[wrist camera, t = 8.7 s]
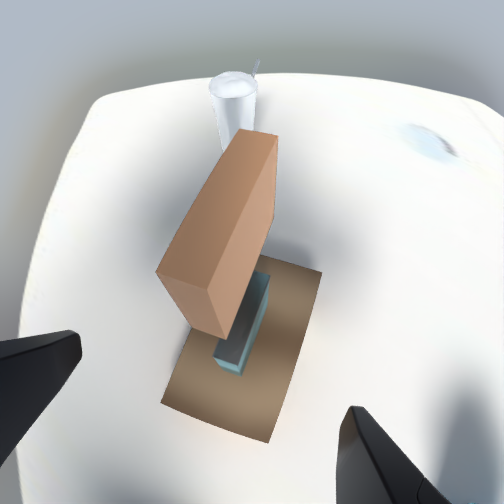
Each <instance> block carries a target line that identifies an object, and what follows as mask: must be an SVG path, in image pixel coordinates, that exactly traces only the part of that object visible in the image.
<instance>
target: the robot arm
mask: <svg viewBox="0 0 504 504" xmlns="http://www.w3.org/2000/svg"><path fill="white" fill-rule="evenodd" d="M81 358H82V347H81V339H80V336H79V334H78V333H76V332H74V331H72V330H65V331H59V332H54V333H48V334H42V335H37V336H31V337H25V338H19V339H12V340H6V341H0V467H1V466H2V464H3V463H4V461H5V460H6V459H7V457H8V456H9V455H10V453H11V452H12V450H13V449H14V448H15V447H16V445H17V444H18V443H19V441H20V440H21V439H22V437H23V436H24V435H25V434H26V432H27V431H28V430H29V428H30V427H31V426H32V425H33V423H34V422H35V421H36V419H37V418H38V417H39V416H40V414H41V413H42V412H43V411H44V409H45V408H46V407H47V406H48V404H49V403H50V402H51V401H52V400H53V398H54V397H55V396H56V395H57V393H58V392H59V391H60V390H61V388H62V387H63V385H64V384H65V382H66V381H67V379H68V378H69V376H70V375H71V373H72V372H73V370H74V369H75V367H76V366H77V364H78V363H79V361H80V360H81ZM336 504H451V503H450V502H449V501H448V500H447V499H446V498H445V497H444V496H443V495H442V494H441V493H440V492H439V491H438V490H437V489H436V488H435V487H434V486H433V485H432V484H431V483H430V482H429V480H428V479H427V478H426V477H424V475H423V474H422V473H421V472H420V471H419V469H418V468H417V467H416V466H415V465H414V464H413V463H412V462H411V460H410V459H409V458H408V457H407V456H406V455H405V454H404V452H403V451H402V450H401V449H400V448H399V447H398V446H397V445H396V443H395V442H394V441H393V440H392V439H391V438H390V437H389V435H388V434H387V433H386V432H385V431H384V430H383V429H382V427H381V426H380V425H379V424H378V423H377V422H376V421H375V419H374V418H373V417H372V416H371V415H370V414H369V413H368V411H367V410H366V409H365V408H364V407H361V406H350V407H349V409H348V411H347V413H346V415H345V417H344V419H343V421H342V423H341V426H340V432H339V444H338V455H337V465H336Z"/></svg>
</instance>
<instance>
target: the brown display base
mask: <svg viewBox="0 0 504 504" xmlns="http://www.w3.org/2000/svg"><path fill="white" fill-rule="evenodd" d="M321 276H322V272H319V271H315V270H312V269H308V268H305V267H301V266H298V265H295V264H291V263H288V262H284V261H281V260H277V259H274V258H270V257H267V256H264V255H259V257H258V260H257V263H256V265H255V268H254V270H253V273H252V275H251V278H250V281H249V283H248V286H247V288H246V291H245V293H244V296H243V299H242V301H241V304H240V306H239V309H238V311H237V314H236V317H235V319H234V322H233V324H232V327H231V329H230V332H229V334H228V337H227V339H226V340H225V339H222V338H219V337H216V336H214V335H211V334H208V333H205V332H203V331H200V330H197V329H195V328H192V329H191V331H190V333H189V336H188V338H187V340H186V343H185V345H184V347H183V350H182V352H181V355H180V357H179V359H178V362H177V364H176V366H175V369H174V371H173V374H172V376H171V378H170V381H169V383H168V386H167V388H166V390H165V393H164V395H163V398H162V400H161V402H160V403H162V404H164V405H166V406H168V407H171V408H173V409H175V410H177V411H180V412H182V413H184V414H187V415H189V416H191V417H194V418H196V419H199V420H201V421H204V422H206V423H209V424H212V425H214V426H217V427H220V428H222V429H225V430H228V431H231V432H234V433H237V434H240V435H243V436H246V437H249V438H252V439H255V440H258V441H262V442H265V443H269V440H270V438H271V435H272V432H273V430H274V427H275V424H276V421H277V419H278V416H279V413H280V410H281V407H282V404H283V401H284V399H285V396H286V393H287V390H288V387H289V384H290V381H291V378H292V375H293V372H294V369H295V365H296V362H297V359H298V356H299V353H300V349H301V346H302V343H303V340H304V336H305V333H306V330H307V326H308V323H309V319H310V316H311V312H312V309H313V305H314V302H315V298H316V294H317V291H318V287H319V283H320V279H321Z"/></svg>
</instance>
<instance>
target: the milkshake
mask: <svg viewBox="0 0 504 504" xmlns="http://www.w3.org/2000/svg"><path fill="white" fill-rule="evenodd" d="M259 62H260V60H259V59H257V60H256V63H255V66H254V69H253V71H252V74H251V76H250V75H249V74H246V73H243V72H225V73H222V74H220V75H218V76H216V77H214V78H213V79H212V80H211V81H210V84H209V92H210V96H211V100H212V104H213V108H214V112H215V117H216V122H217V126H218V131H219V136H220V141H221V146H222V149H223V151H225V150H226V148H227V147H228V145H229V143H230V142H231V140H232V139H233V137H234V136H235V134H236V133H237V131H238V130H239V128H240V129H245V130H251V131H253V128H254V114H255V103H256V94H257V86H258V83H257V81H256V80H255V79H254V76H255V73H256V71H257V67H258V65H259Z"/></svg>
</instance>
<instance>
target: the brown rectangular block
mask: <svg viewBox="0 0 504 504" xmlns="http://www.w3.org/2000/svg"><path fill="white" fill-rule="evenodd" d="M277 151H278V136H276V135H272V134H267V133H262V132H256V131H251V130H245V129H240V128H239V130H238V131H237V133H236V134H235V136H234V137H233V139H232V140H231V142H230V143H229V145H228V147H227V148H226V150H225V151H224V153H223V155H222V156H221V158H220V159H219V161H218V163H217V164H216V166H215V167H214V169H213V171H212V172H211V174H210V176H209V177H208V179H207V181H206V182H205V184H204V186H203V187H202V189H201V191H200V192H199V194H198V196H197V198H196V199H195V201H194V203H193V204H192V206H191V208H190V210H189V211H188V213H187V215H186V217H185V218H184V220H183V222H182V224H181V225H180V227H179V229H178V231H177V233H176V234H175V236H174V238H173V240H172V242H171V244H170V245H169V247H168V249H167V251H166V253H165V255H164V257H163V258H162V260H161V262H160V264H159V266H158V268H157V270H156V274H157V275H158V277H159V278H160V280H161V282H162V283H163V285H164V286H165V288H166V289H167V291H168V292H169V294H170V296H171V297H172V299H173V300H174V302H175V303H176V305H177V306H178V308H179V309H180V311H181V312H182V314H183V315H184V317H185V318H186V319H187V321H188V322H189V324H190V325H191V327H192V328H195V329H197V330H200V331H203V332H205V333H208V334H211V335H214V336H216V337H219V338H222V339H225V340H226V339H227V337H228V334H229V332H230V329H231V327H232V324H233V322H234V319H235V317H236V314H237V311H238V309H239V306H240V304H241V301H242V299H243V296H244V293H245V291H246V288H247V286H248V283H249V281H250V278H251V275H252V273H253V270H254V268H255V265H256V263H257V260H258V257H259V255H260V252H261V250H262V247H263V244H264V242H265V239H266V237H267V234H268V231H269V229H270V226H271V224H272V221H273V218H274V203H275V187H276V169H277Z"/></svg>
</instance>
